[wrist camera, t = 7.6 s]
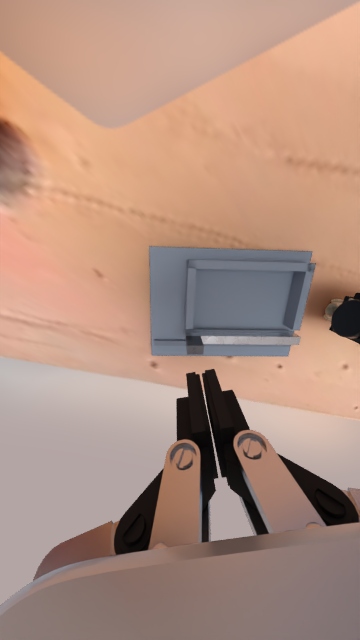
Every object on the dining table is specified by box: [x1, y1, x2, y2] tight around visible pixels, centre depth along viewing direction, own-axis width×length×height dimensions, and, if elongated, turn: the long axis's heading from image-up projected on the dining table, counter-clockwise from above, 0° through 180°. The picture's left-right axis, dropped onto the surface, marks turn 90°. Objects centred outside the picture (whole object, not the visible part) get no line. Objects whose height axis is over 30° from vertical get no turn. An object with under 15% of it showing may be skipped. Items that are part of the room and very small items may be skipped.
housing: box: [149, 246, 316, 356], centre depth 27 cm, size 22×16×4 cm
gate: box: [185, 329, 301, 355], centre depth 26 cm, size 16×1×6 cm, turn 88°
